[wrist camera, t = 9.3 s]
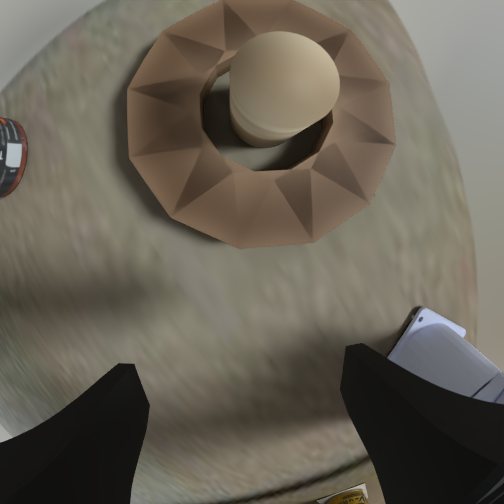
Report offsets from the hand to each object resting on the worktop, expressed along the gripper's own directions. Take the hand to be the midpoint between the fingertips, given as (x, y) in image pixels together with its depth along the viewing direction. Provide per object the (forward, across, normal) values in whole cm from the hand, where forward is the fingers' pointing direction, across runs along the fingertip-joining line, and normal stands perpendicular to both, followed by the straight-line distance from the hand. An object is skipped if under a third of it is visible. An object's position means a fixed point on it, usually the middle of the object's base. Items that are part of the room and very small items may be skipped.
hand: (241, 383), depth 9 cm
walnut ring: (+9, -2, -10) cm, 14 cm away
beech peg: (+9, -2, -10) cm, 14 cm away
